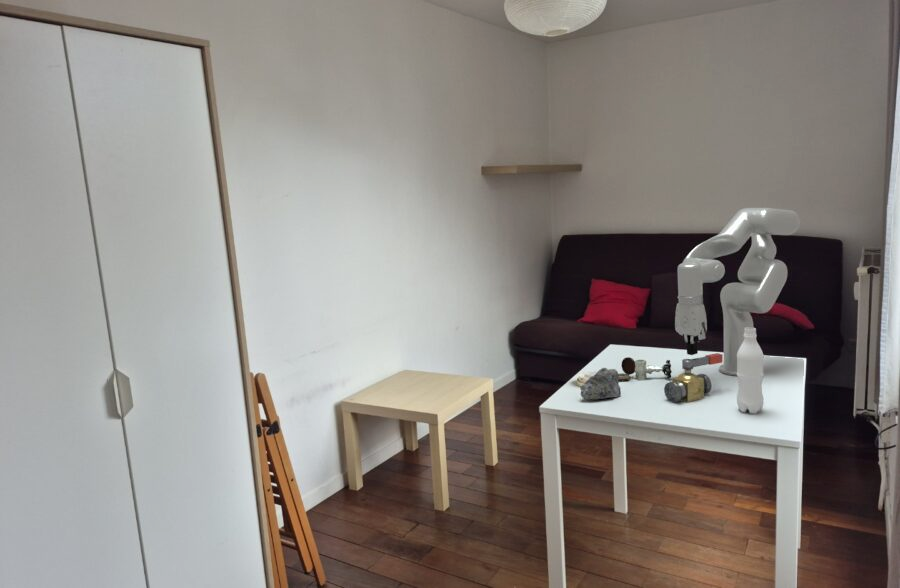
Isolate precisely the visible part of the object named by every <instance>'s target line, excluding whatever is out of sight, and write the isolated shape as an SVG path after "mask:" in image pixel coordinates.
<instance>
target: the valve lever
mask: <svg viewBox="0 0 900 588" xmlns="http://www.w3.org/2000/svg"><path fill="white" fill-rule="evenodd" d="M681 361H682V362H681V364H682V369H683V370H684V369H686V370H691V371H692V370H693V369H694V368H698V367H702V366H711V365H716V364H721V363H723V354H722V353H718V352H717V353H716V352H715V353H711V354H706V355H705V356H701V357H695V358H684V359H682V360H681Z"/></svg>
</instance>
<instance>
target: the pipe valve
mask: <svg viewBox="0 0 900 588" xmlns="http://www.w3.org/2000/svg"><path fill="white" fill-rule="evenodd" d="M683 370H684V371H683V372H682V373H680V374H679V375H678V376H674V377H671V381H669V382H667V383H665V385H664V388H663V391H664V392H663V393H664V396H665V397H666V399H667V400H668V401H669V402H671V403H673V404H674V403H677V402H680V401H682V402H685V403H690V402H694V401H698V400H701V399H704V398H705V394H708V393H711V390H712V387H713V386H712V385H713V384H712V380H711V379H710V377H709V376H708V375H707V374H704V373H699V374H695V373H693V372H692V369H691V370H686V369H683Z"/></svg>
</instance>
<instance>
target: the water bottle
mask: <svg viewBox="0 0 900 588" xmlns="http://www.w3.org/2000/svg"><path fill="white" fill-rule="evenodd" d="M744 332H745V333H744V341H743V343H742V345H741V346H740V348H739V350H738V352H737V380H738V390H737V393H736V404H737V406H738V409H739V410H740V412H742V413H746V412H747V411H748V412H749V413H750V414H752V415H753V414H757V413H758V412H759V413H760V412H761V411H762V410H763V406H764V395H763V387H762V386H763V380H764V379H763V378H764V375H765V373H764V357H765V356H764V353H763V350H762V348H761V346H760V344H759V343H758V341H757V336H758V335H757V328H755V327H754V326H753V327H747V328H745V331H744Z"/></svg>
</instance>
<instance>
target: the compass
mask: <svg viewBox="0 0 900 588" xmlns="http://www.w3.org/2000/svg"><path fill="white" fill-rule="evenodd" d="M635 361H636V360H634V358H632V357H630V356H629V357H624V358H623V359H622V360H621V369H622V371H623V373H618V378H619V381H618V382H627V381H633V380H634V378H632V377H631V376H630V375H633V374H634V373H635Z"/></svg>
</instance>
